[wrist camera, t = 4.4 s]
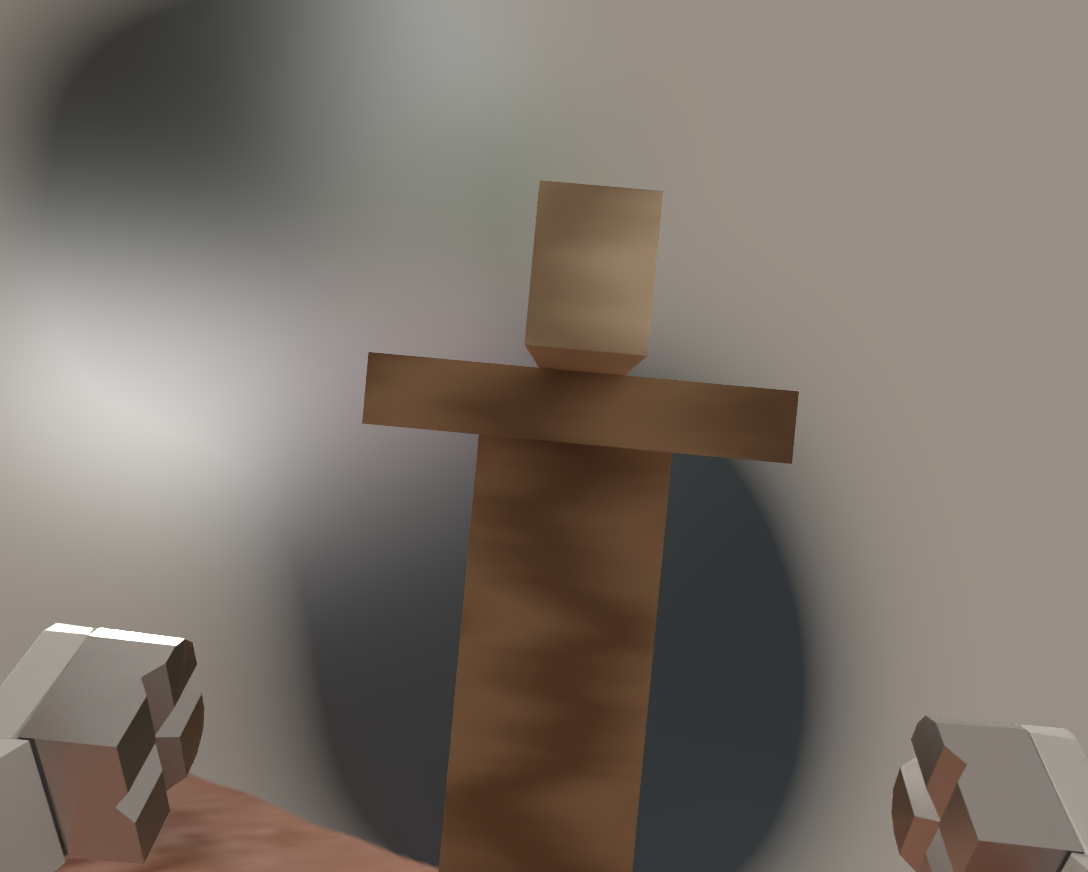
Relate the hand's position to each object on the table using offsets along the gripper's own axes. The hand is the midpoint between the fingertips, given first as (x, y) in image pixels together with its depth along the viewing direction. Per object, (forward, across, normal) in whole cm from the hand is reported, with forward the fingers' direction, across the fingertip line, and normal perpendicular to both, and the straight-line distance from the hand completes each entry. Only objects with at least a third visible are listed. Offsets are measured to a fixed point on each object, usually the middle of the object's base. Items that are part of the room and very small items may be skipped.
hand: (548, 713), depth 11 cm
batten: (+17, 0, +5) cm, 18 cm away
